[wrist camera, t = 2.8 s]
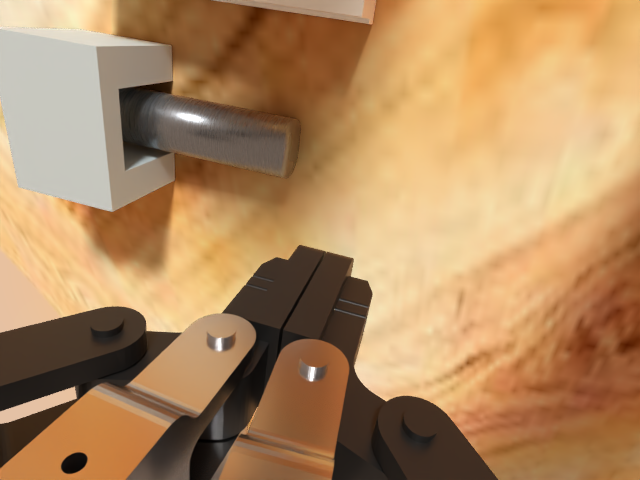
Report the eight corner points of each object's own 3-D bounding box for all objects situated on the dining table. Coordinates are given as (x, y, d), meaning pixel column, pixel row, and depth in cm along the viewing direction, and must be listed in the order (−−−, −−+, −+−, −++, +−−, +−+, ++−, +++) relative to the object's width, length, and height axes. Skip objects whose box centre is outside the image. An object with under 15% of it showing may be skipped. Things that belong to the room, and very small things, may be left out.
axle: (303, 114, 24) (284, 124, 21) (297, 169, 25) (278, 185, 22) (61, 66, 26) (15, 70, 24) (68, 118, 28) (26, 127, 25)
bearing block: (171, 45, 24) (96, 46, 19) (175, 180, 27) (112, 212, 22) (80, 29, 25) (-15, 26, 20) (95, 161, 28) (18, 187, 23)
